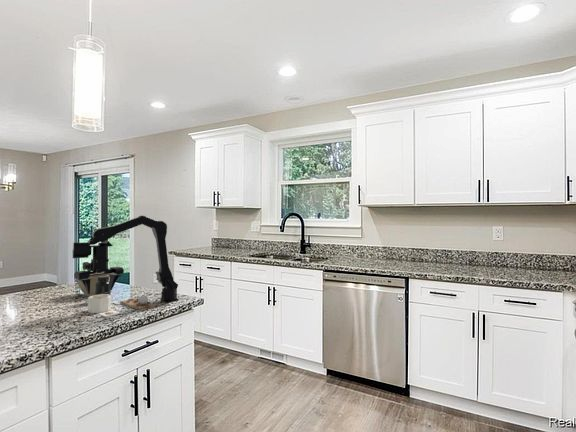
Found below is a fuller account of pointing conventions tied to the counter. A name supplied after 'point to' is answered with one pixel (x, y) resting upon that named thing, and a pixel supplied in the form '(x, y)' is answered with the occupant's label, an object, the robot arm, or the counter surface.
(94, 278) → the planter bowl
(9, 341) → the counter surface
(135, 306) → the stand
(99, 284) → the supplement bottle
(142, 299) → the ball grey
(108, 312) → the tile
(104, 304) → the cup
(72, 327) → the counter surface
